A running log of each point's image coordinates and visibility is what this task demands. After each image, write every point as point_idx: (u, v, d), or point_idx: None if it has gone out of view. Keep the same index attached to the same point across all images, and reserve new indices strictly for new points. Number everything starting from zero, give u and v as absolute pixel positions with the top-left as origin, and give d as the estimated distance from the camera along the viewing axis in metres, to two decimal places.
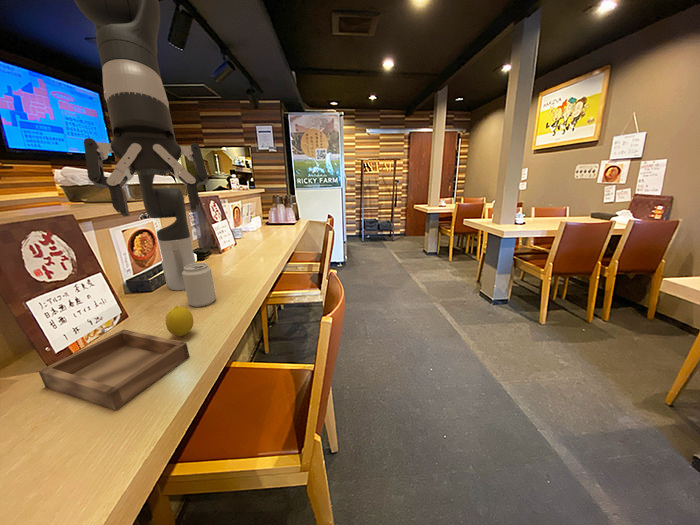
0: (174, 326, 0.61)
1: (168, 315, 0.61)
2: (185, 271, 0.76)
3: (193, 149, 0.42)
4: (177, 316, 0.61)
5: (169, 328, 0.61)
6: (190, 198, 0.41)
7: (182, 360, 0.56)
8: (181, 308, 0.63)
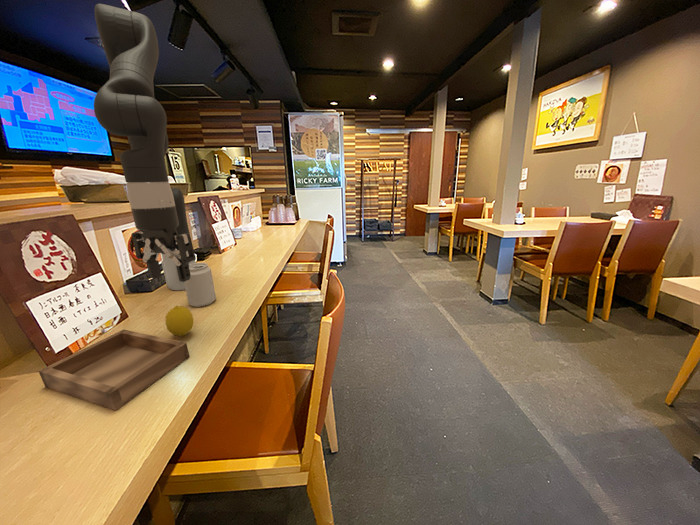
0: (174, 326, 0.61)
1: (168, 315, 0.61)
2: None
3: (177, 240, 0.55)
4: (177, 316, 0.61)
5: (169, 328, 0.61)
6: (178, 275, 0.58)
7: (182, 360, 0.56)
8: (181, 308, 0.63)
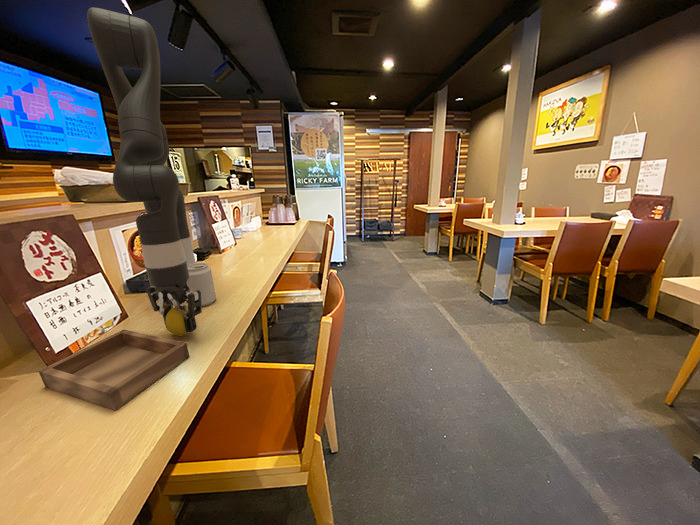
0: (174, 326, 0.61)
1: (168, 315, 0.61)
2: None
3: (188, 298, 0.59)
4: (177, 316, 0.61)
5: (169, 328, 0.61)
6: (185, 327, 0.62)
7: (182, 360, 0.56)
8: None
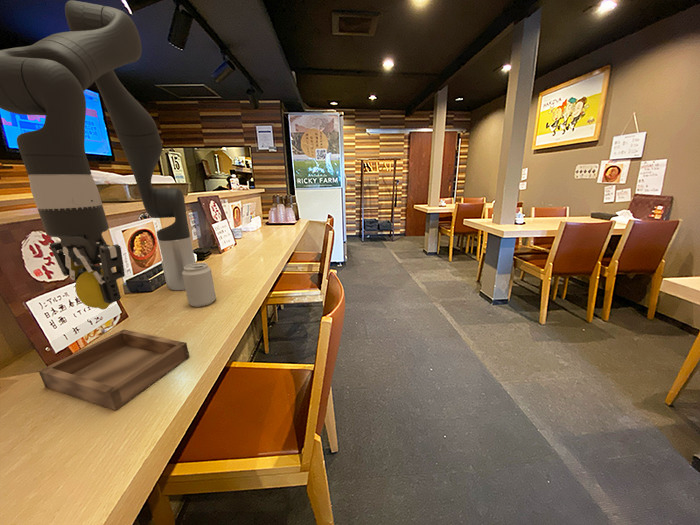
0: (85, 293, 0.45)
1: (78, 279, 0.46)
2: (185, 271, 0.76)
3: (100, 253, 0.43)
4: (90, 280, 0.45)
5: (79, 296, 0.46)
6: (103, 295, 0.46)
7: (182, 360, 0.56)
8: None
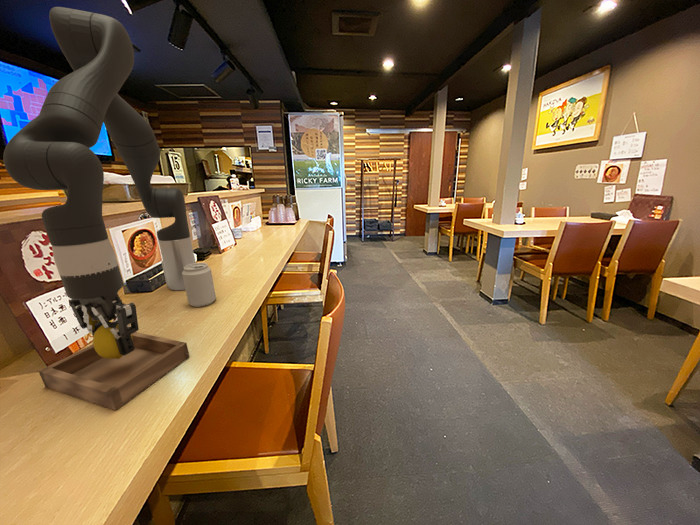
0: (102, 347, 0.49)
1: (95, 334, 0.49)
2: (185, 271, 0.76)
3: (117, 313, 0.46)
4: (106, 335, 0.49)
5: (97, 350, 0.49)
6: (118, 348, 0.50)
7: (182, 360, 0.56)
8: None
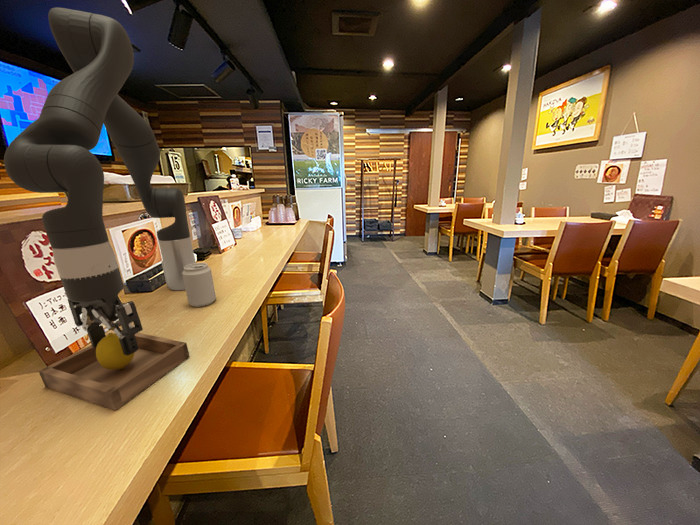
0: (105, 359, 0.49)
1: (98, 345, 0.50)
2: (185, 271, 0.76)
3: (117, 312, 0.46)
4: (109, 347, 0.50)
5: (100, 361, 0.50)
6: (122, 348, 0.49)
7: (182, 360, 0.56)
8: (116, 336, 0.51)
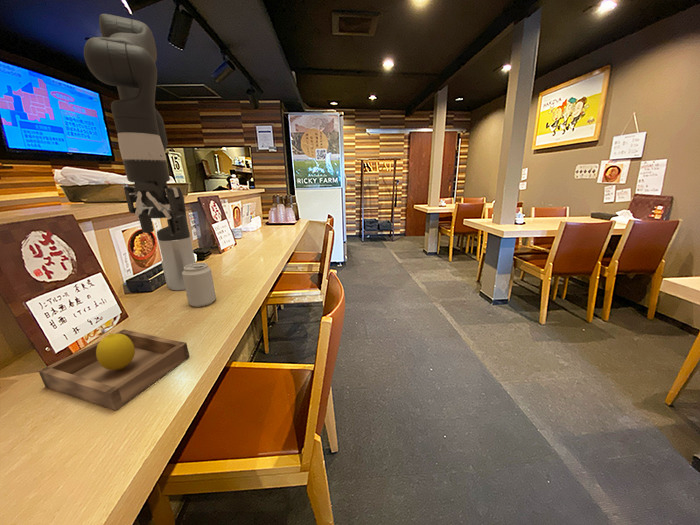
0: (105, 359, 0.49)
1: (98, 346, 0.50)
2: (185, 271, 0.76)
3: (167, 193, 0.56)
4: (109, 347, 0.50)
5: (100, 362, 0.50)
6: (169, 229, 0.59)
7: (182, 360, 0.56)
8: (116, 336, 0.51)
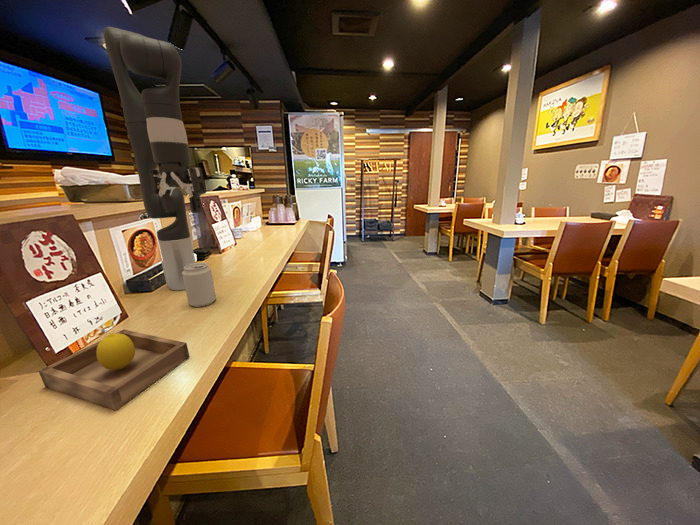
0: (105, 359, 0.49)
1: (99, 345, 0.50)
2: (185, 271, 0.76)
3: (190, 172, 0.62)
4: (109, 347, 0.50)
5: (100, 361, 0.50)
6: (191, 206, 0.65)
7: (182, 360, 0.56)
8: (117, 336, 0.51)
